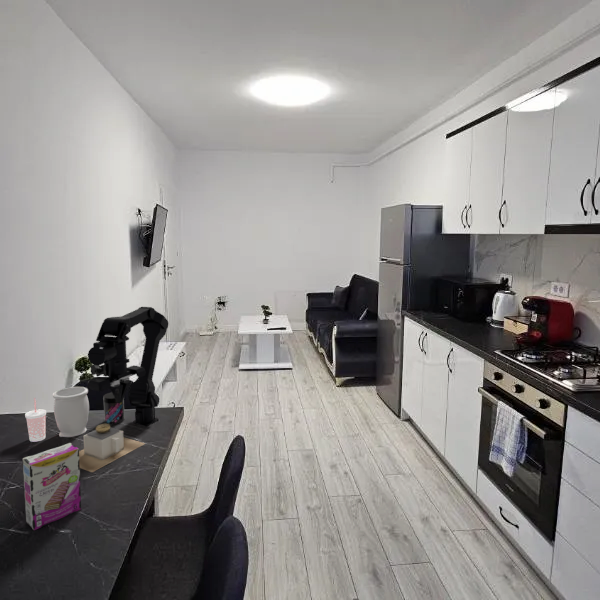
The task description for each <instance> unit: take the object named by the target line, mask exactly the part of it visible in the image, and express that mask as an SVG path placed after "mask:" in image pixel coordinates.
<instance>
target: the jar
mask: <svg viewBox="0 0 600 600" xmlns="http://www.w3.org/2000/svg"><path fill="white" fill-rule="evenodd" d="M88 393H89V389H88V387H84V386H71V387H64V388H60V389H59V390H56V391H54V392H53V393H52V397H53V399H54V403H53V413H54V415H53V416H54V419H55V423H56V426H57V429H58V430H59V431H60V432H59V433H58V434H59V435H58V436H59V437H60V438H61V437H64V438H71V437H77V436H80V435H82V434H85V433H86V431H87V430H88V429H87V424H88V421H89V413H90V402H89V398H88V395H87V394H88Z"/></svg>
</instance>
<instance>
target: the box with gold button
mask: <svg viewBox="0 0 600 600" xmlns="http://www.w3.org/2000/svg"><path fill="white" fill-rule="evenodd" d="M82 437H83V449H84V454H85V455H88V456H91V457H94V458H97V459H100V460H104V459H106V458H108V457H110V456H112V455H114V454H116V453H118V452H120V451H122V450H123V449H124V440H123V437H124V430H120V429H118V428H114V427H111V426H110V430H109V431H108V432H105V433H97V432H96V429H94V430H92V431H90V432H87V433H86V434H84V435H83V436H82Z"/></svg>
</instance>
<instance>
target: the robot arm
mask: <svg viewBox="0 0 600 600" xmlns="http://www.w3.org/2000/svg"><path fill="white" fill-rule="evenodd" d="M155 309H156V308H153V307H152V306H141V307H138V308H137V309H135V310H133V311H131V312H129V313H126V314H124V315H122V316H121V315H120V316H111V317H106V318H105V319H104V320H103V322H101V326H100V328H99V332H98V334H97V336H96V339H95V342H93V346H92V347H91V348H90V349H89V350H88V353H87V358H88V361H89V362H90V363H91V364H92V365H90V373H91V375H92V376H95V375H96V377H94V378H92V379H89V380H88V381H87V389H88V390H91V391H96V392H104V391H107V390H110V391H111V392H112V393H113V396H114V398H115V400H116V402H117V403H121V402H122V400H123V398H124V399H125V395H126V393H127V392H128V400H129V403H130V406H131V407H135V411H134V417H135V418H134V420H132V423H133V424H138V425H140V426H144V427H147V426H149V425H151V424H153V423H155V422H157V421H159V418H158V417H156V408H158V406H159V404H160V397H159V396H158V395H157V394H156V393H155V392H156V386H155V383H154V382H153V381H154V380H153V377H154V372H155V367H156V362H157V357H158V356H157V355H158V350H159V347H160V342H161V340H162V339H163V338H164V337H165V336H166V334H167V329H168V328H169V321H168V319H167V318H166V317H165V315H164V314H162V313H160V312H158V311H156V310H155ZM139 324H141V325H142V326H143V329H142V332H143V334H144V336H145V342H144V347H143V350H142V351H143V352H142V356H141V363H140V366H139V365H130V366H128V363H130V358H128V357H127V342H128V341H129V340H130V337H128V336H127V335H129V333H131V331H132V328H133V327H135V326H137V325H139ZM102 375H103V377H101V376H102ZM135 375H136V377H137V378H136V380H135V381H133V380H131V379H130V377H132V376H135ZM104 377H106V378H104ZM128 389H129V391H128ZM111 392H110V393H111ZM156 420H157V421H156Z"/></svg>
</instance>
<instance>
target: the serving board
mask: <svg viewBox="0 0 600 600" xmlns="http://www.w3.org/2000/svg"><path fill="white" fill-rule="evenodd" d="M123 440H124V449H123V450H122V451H120V452H118V453H116V454H114V455H112V456H110V457H108V458H106V459H104V460H100V459H97V458H94V457H91V456H88V455H85V454H84V448H83V449H81V450H79V465H80V470H81V469H82V470H85V471H86V472H90V473H94V472H96V471H97V470H99V469H101V468H103V467H105V466H106V465H109V464H110V463H113V462H115V461H116V460H118V459H119V458H122V457H124V456H126V455H127V454H129V453H131V452H133V451H135V450H137V449H139V448H140V447H142V446H144V445H146V443H145V442H141V441H137V440H135V439H132V438H128V437H126V436H125V437H124V436H123Z"/></svg>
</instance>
